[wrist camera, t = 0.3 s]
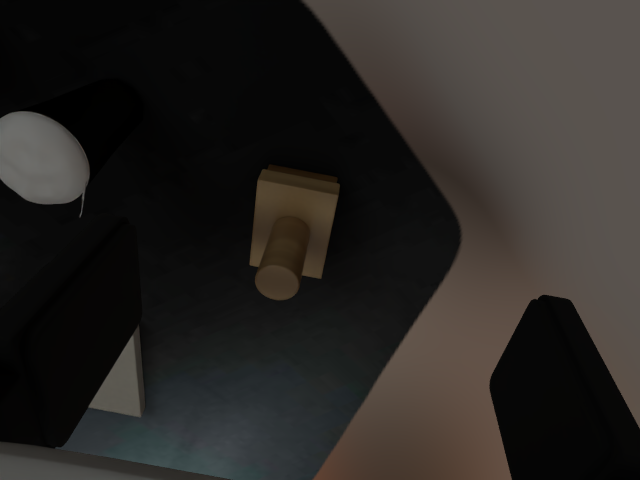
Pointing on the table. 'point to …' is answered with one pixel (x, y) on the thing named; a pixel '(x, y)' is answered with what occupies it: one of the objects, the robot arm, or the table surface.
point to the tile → (124, 383)
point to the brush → (291, 228)
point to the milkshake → (66, 140)
